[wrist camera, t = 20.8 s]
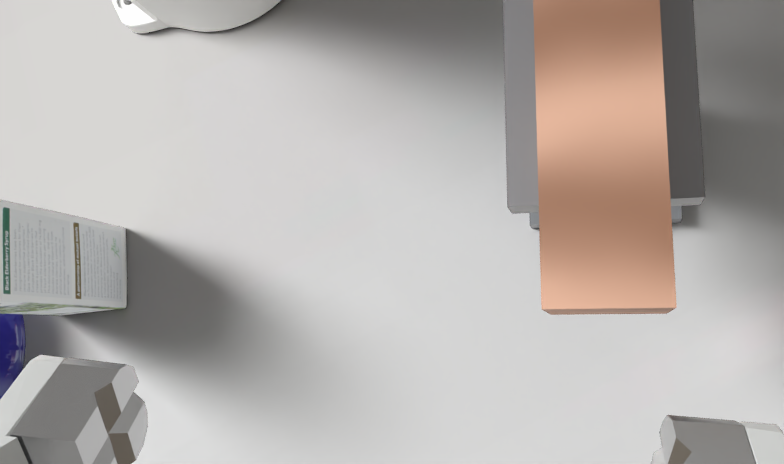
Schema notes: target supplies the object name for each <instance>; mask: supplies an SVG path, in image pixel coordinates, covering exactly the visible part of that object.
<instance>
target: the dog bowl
mask: <svg viewBox="0 0 784 464" xmlns="http://www.w3.org/2000/svg"><path fill="white" fill-rule="evenodd" d="M24 356H25V328H24V320H23V316H22V314H1V313H0V399H1V398H2V397H3V395H4V394H5V393H6V391H7V390H8V389H9V388H10V386H11V385H12V384H13V382H14V381H15V380H16V378H17V377H18V376H19V374H20V373H21V372H22V368H23V362H24Z"/></svg>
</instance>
